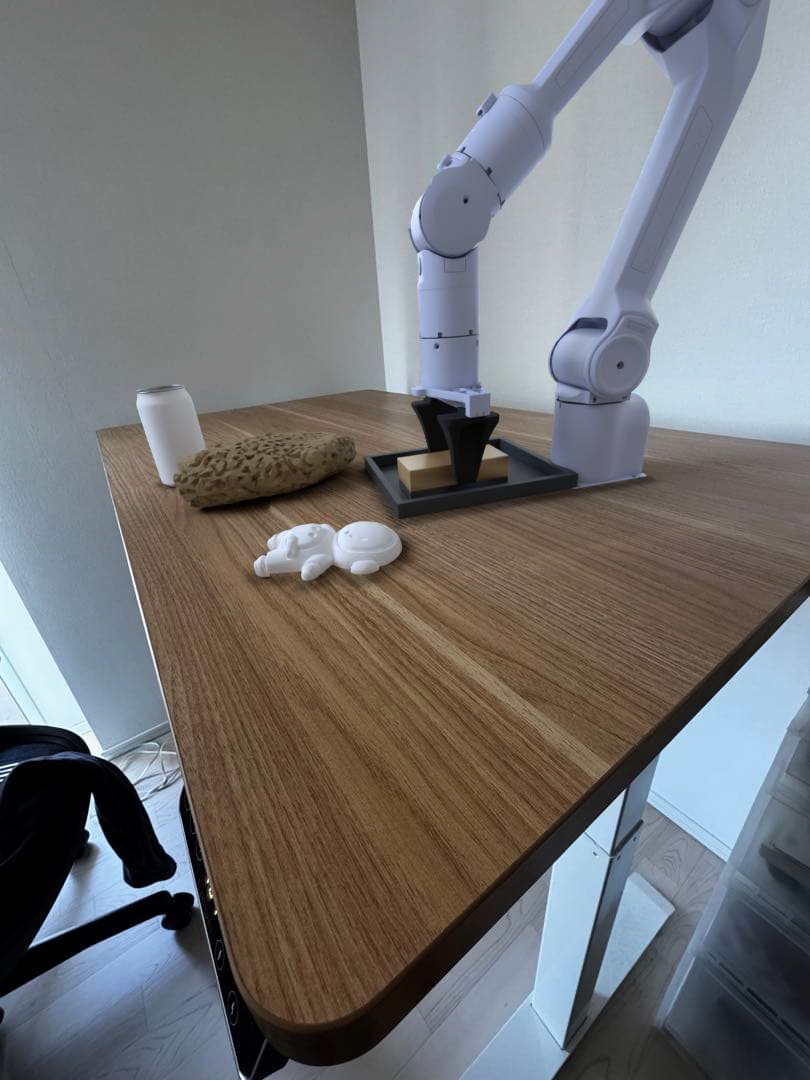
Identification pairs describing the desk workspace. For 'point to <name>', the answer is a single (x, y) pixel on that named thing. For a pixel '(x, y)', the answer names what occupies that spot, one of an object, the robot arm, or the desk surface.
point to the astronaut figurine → (329, 549)
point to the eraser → (447, 473)
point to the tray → (524, 480)
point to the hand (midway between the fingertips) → (452, 471)
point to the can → (169, 427)
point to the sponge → (261, 467)
